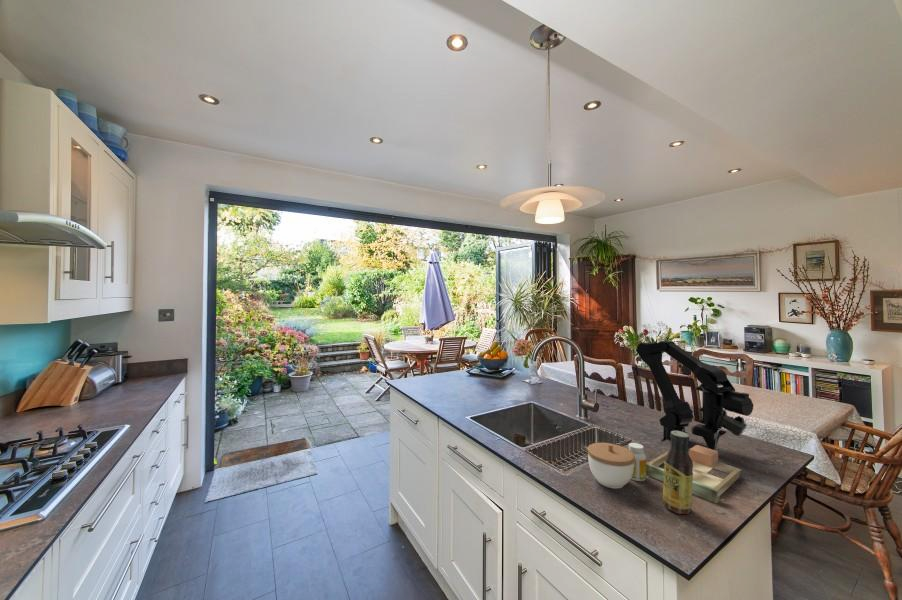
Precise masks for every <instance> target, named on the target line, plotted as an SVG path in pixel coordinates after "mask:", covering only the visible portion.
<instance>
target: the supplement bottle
mask: <svg viewBox="0 0 902 600" xmlns="http://www.w3.org/2000/svg"><path fill="white" fill-rule="evenodd" d="M628 450H630V451H631V452H632V453H633V454H634V456H635V461H634V471H633V475H632V478H631V480H632V481H636V482H645V480H646V479H647V475H646V464H647V456H646V453H644V451H645V449H644V445H643V444H640V443H637V442H629V443H628Z"/></svg>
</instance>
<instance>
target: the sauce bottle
mask: <svg viewBox="0 0 902 600" xmlns="http://www.w3.org/2000/svg"><path fill="white" fill-rule="evenodd" d="M670 437H671V441H670V446H669V447H670V448H669V449H668V451H669V452H668V454H667V456H666V458H665V461H664V463H663V468H664V482H663V481H662V482H663V485H662V486H663V489H662V498H663V499H662V500H663V502H662V503H663V505H664V507H665V508H666V509H668V510H670V511H671V512H673V513H675V514H678V515H679V514H681V515H688V514H690V513H691V511H692V504H693V503H692V502H693V494H692V484H693V472H692V471H693V462H692V459H691V458H690V456H689V454H688V452H689V441H690V435H689V434H688V432H687V433H684V432H681V431H671V433H670Z"/></svg>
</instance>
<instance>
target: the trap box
mask: <svg viewBox="0 0 902 600" xmlns="http://www.w3.org/2000/svg"><path fill="white" fill-rule="evenodd" d="M668 452H669V450H667V451H666V452H664V453H662V454H661V455H659V456H657V457H655V458H654V459H652V460H651V461H649V462H646V476H649V477H651V478H654V479H655V480H659V481H661V482H664V467H660V466H661V465H662V464H663V465H664V461H665V458H666V456H667V454H668ZM688 454H689V451H688ZM692 462H693V471H692V472H693V484H692V495H694V496H698V497H700V498H702V499H705V500H707V501H710V502H712V503H715V504H717V503H718V502H719V501H720V500H721V499H722V497H721V495H722V494H723V493H725V492H726V491H727V490H728V488H730V487H731V486H732V485H733V484H734V483H735V482H737V480H738V479H739V478H740V475H741V474H740V473H741V471H742V469H741V468H737V467H736V466H735V467H734V466H731V465H728V464H726V463H723V462H719V461H718V463H716V464H715V465H714V466H712V467H709V466H706V465H703V464H700V463H697V462H694V461H692ZM713 469H715V470H718V471H721V472H722V473H723V472H724V473H726V474H728V475H727V476H725V477H724V479H723V478H721V477H718V476H715V475H712V474H710V473H709V472H710V471H712V470H713Z"/></svg>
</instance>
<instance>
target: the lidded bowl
mask: <svg viewBox="0 0 902 600" xmlns="http://www.w3.org/2000/svg"><path fill="white" fill-rule="evenodd" d="M587 459H588V466H589V469H590V472H591V473H592V476H593V477H594V478H595V479H596V480H597V482H598V483H599V484H600V485H602V486H604V487H606V488H610V489H615V490H618V489H622V488H623V487H624V486H625V485H627V484H628V483H629V482H630V481H631V480H632V479H631V478H632V475H633V471H634V461H635V456H634V454H633V453H632V452H631V451H630V450H629V448H627V447H624V446H622V445H619V444H616V443H615V444H614V443H611V442H610V443H609V442H596V443H595V442H593V443H591V444H589V445H588V447H587Z"/></svg>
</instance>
